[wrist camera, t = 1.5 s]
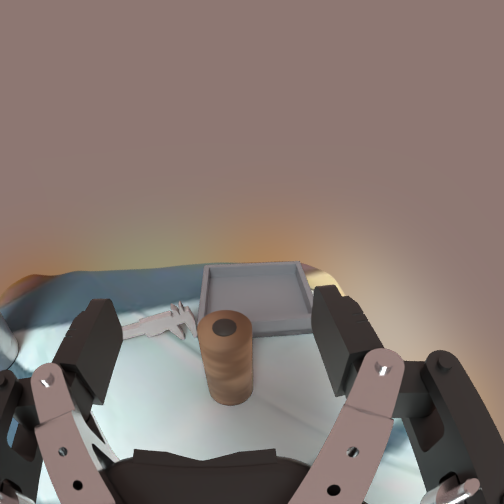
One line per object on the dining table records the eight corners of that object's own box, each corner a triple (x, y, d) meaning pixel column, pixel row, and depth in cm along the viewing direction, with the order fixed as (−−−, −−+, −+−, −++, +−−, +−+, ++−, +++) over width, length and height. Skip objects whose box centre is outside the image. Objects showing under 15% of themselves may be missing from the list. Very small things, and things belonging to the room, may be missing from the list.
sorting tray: (200, 339, 37) (197, 323, 35) (206, 279, 49) (204, 265, 47) (317, 332, 38) (320, 316, 36) (298, 275, 50) (299, 261, 48)
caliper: (197, 333, 38) (191, 298, 35) (198, 338, 37) (192, 303, 34) (66, 347, 34) (49, 315, 31) (65, 352, 33) (47, 320, 30)
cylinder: (208, 405, 28) (194, 347, 23) (209, 371, 32) (198, 309, 27) (254, 404, 28) (254, 346, 23) (251, 370, 32) (250, 307, 27)
